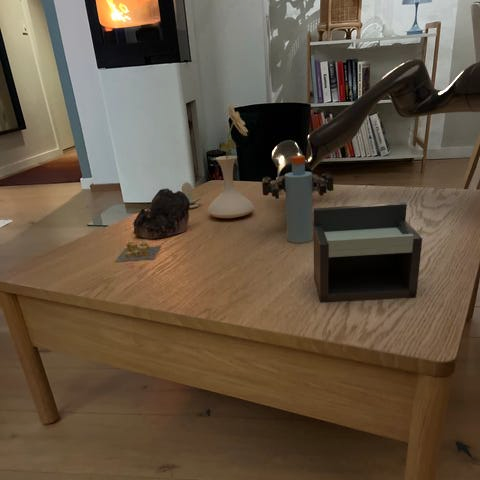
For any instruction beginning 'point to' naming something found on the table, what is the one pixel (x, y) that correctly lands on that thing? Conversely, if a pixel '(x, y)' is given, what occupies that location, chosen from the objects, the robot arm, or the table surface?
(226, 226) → the table surface
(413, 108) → the robot arm
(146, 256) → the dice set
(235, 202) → the flower in vase
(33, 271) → the table surface
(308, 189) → the plastic bottle
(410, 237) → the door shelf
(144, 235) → the dark brown rock
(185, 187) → the pacifier
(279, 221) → the table surface
